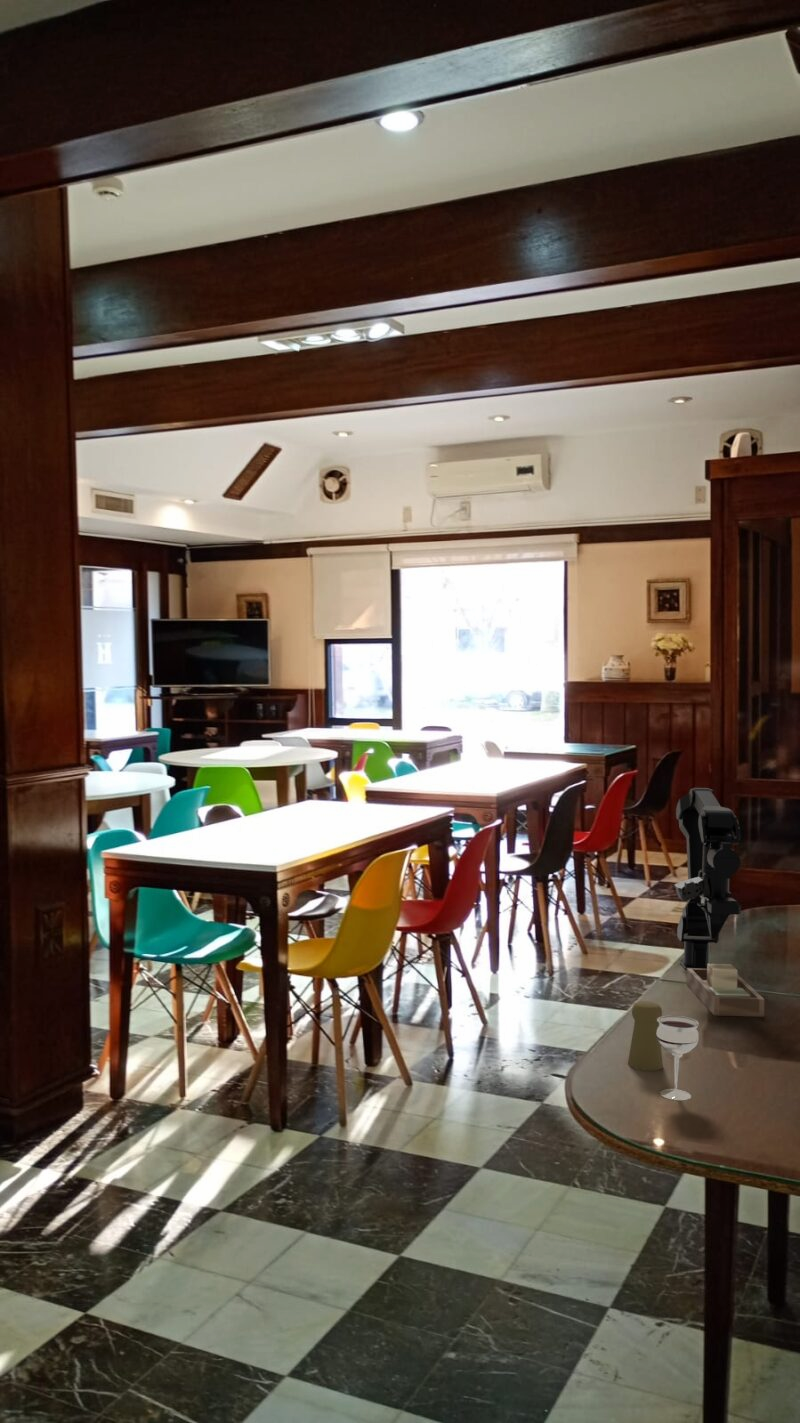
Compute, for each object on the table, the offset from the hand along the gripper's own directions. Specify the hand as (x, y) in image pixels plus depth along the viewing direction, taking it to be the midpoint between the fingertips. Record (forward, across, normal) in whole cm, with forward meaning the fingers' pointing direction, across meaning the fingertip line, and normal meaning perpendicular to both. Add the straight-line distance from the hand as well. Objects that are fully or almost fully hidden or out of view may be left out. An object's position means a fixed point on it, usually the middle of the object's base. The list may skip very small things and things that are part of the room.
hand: (713, 938), depth 252 cm
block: (+8, +8, 0) cm, 11 cm away
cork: (+11, +51, -25) cm, 58 cm away
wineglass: (+11, +65, -23) cm, 69 cm away
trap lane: (+11, +9, 0) cm, 14 cm away
